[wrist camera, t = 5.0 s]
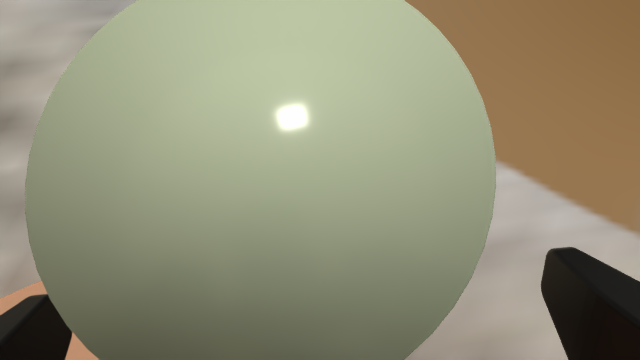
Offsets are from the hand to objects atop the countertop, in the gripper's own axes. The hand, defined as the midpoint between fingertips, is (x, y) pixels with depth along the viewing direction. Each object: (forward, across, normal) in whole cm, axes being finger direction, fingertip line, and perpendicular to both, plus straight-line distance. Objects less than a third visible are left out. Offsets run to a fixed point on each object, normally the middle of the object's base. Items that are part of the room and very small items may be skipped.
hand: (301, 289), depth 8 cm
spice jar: (+7, 0, +5) cm, 9 cm away
